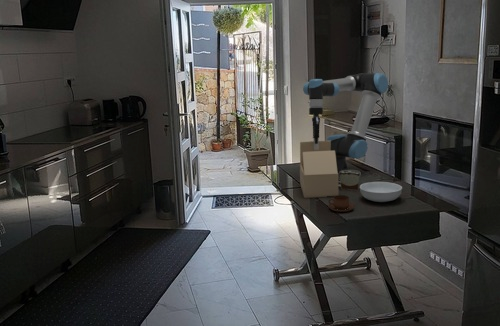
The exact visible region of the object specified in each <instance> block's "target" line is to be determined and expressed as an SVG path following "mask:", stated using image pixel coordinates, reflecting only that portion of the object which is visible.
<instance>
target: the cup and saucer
mask: <svg viewBox="0 0 500 326" xmlns="http://www.w3.org/2000/svg"><path fill="white" fill-rule="evenodd" d="M331 201H333V202H332V203H331ZM328 204H329V205H328V208H329V209H330V210H331V211H335V212H339V213H341V212H342V213H343V212H350V211H352V210H353V209H354V208H355V205H354V204H353V203H351V202H350V197H349V196H348V195H344V194H342V195H341V194H340V195H339V194H338V196H334V197H333V198H329V200H328ZM347 208H348V209H347ZM337 209H338V210H337ZM345 209H346V210H345Z"/></svg>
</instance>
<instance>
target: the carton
mask: <svg viewBox="0 0 500 326" xmlns="http://www.w3.org/2000/svg"><path fill="white" fill-rule="evenodd" d="M299 185H300V187H301V191H302V195H303V198H305V199H307V198H328V197H327V196H338V195H339V173H338V174H331V175H307V176H304V164H303V163H300V162H299Z"/></svg>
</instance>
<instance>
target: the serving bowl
mask: <svg viewBox="0 0 500 326" xmlns="http://www.w3.org/2000/svg"><path fill="white" fill-rule="evenodd" d="M402 191H403V186H401V185H400V184H397V183H394V182H387V181H372V182H371V181H370V182H363V183H362V184H359V192H360V195H362V197H363V198H365V199H366V200H368V201H372V202H376V203H387V202H392V201H394V200H397V199H398V198H399V197H400V196H401V194H402Z"/></svg>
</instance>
